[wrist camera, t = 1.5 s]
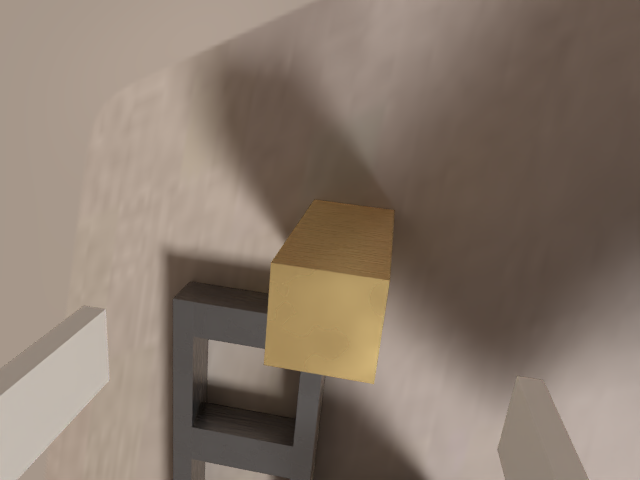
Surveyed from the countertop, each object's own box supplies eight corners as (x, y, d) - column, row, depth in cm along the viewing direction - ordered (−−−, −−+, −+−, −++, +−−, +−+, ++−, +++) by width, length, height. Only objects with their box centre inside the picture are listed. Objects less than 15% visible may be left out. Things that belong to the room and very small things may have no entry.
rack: (333, 304, 30) (327, 323, 28) (305, 549, 37) (298, 582, 35) (190, 281, 31) (173, 298, 29) (187, 524, 38) (173, 554, 36)
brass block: (394, 210, 28) (389, 280, 19) (383, 284, 30) (373, 383, 20) (314, 199, 29) (270, 262, 19) (307, 272, 30) (264, 364, 21)
